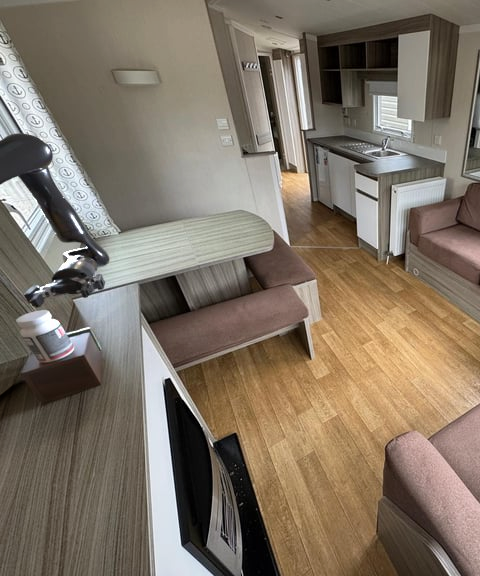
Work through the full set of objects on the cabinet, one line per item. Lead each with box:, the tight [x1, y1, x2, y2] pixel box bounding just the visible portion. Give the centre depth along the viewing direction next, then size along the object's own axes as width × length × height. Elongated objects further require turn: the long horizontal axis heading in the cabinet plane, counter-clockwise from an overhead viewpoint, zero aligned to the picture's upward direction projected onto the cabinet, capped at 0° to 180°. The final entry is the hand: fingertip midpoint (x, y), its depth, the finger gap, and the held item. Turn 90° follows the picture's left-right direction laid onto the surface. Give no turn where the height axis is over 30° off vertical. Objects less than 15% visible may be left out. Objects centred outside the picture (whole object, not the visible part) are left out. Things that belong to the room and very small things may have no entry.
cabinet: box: [20, 333, 105, 405], centre depth 69 cm, size 11×10×9 cm
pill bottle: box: [15, 309, 74, 363], centre depth 63 cm, size 6×6×10 cm
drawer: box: [65, 326, 103, 352], centre depth 73 cm, size 11×8×7 cm
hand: (60, 299), depth 73 cm, fingers open, 8 cm apart
